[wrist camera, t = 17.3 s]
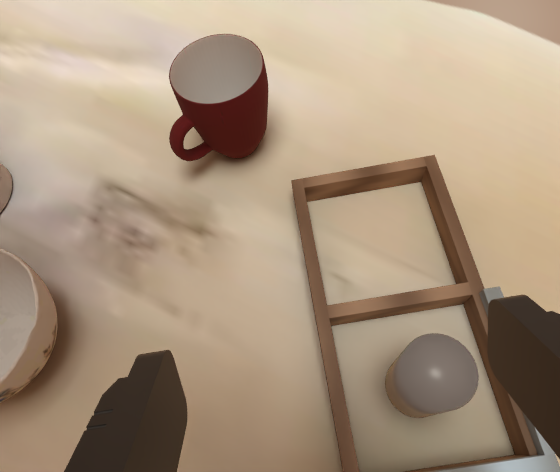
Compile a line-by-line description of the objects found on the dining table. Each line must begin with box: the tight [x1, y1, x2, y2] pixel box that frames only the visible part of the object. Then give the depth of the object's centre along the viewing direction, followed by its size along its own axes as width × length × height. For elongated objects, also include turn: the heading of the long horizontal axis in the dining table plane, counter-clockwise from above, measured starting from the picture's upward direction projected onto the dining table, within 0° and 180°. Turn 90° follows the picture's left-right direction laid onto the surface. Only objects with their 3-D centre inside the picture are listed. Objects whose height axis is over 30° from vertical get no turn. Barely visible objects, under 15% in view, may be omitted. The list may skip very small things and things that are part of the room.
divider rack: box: [291, 155, 560, 472], centre depth 33 cm, size 14×25×4 cm, turn 8°
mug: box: [169, 34, 268, 161], centre depth 39 cm, size 10×8×10 cm
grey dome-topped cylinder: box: [385, 333, 478, 418], centre depth 29 cm, size 4×4×8 cm
